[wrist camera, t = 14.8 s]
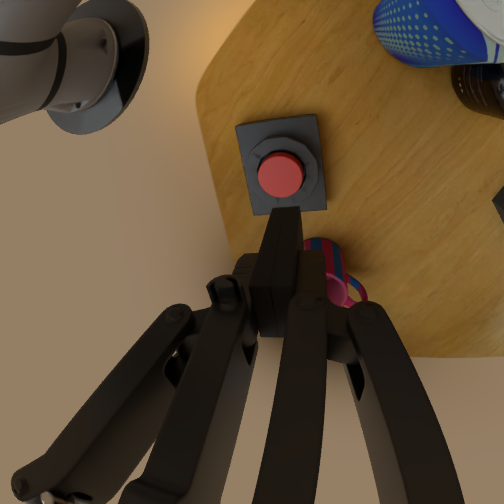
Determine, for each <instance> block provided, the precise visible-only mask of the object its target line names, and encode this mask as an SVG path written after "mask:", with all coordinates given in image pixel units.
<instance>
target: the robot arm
mask: <svg viewBox="0 0 504 504" xmlns="http://www.w3.org/2000/svg"><path fill="white" fill-rule="evenodd" d="M81 1H82V0H0V124H3V123H5V122H7V121H10V120H13V119H15V118H18V117H20V116H23V115H26V114H29V113H32V112H34V111H38V110H42V109H44V110H51V111H58V112H64V113H74V112H80V111H83V110H87V109H89V108H91V107H93V106H94V105H95V104H97V103H98V102H99V101H100V100H101V99H102V98H103V97H104V96H105V94H106V93H107V92H108V90H109V89H110V87H111V85H112V83H113V81H114V79H115V77H116V74H117V71H118V67H119V63H120V57H121V43H120V38H119V35H118V32H117V30H116V28H115V27H114V26H113V25H112V24H111V23H110V22H109V21H107V20H105V19H101V18H93V17H91V18H82V19H78V20H75V21H71V22H68V23H66V22H67V20H68V19H69V17H70V16H71V14H72V13H73V11H74V10H75V9H76V7H77V6H78V5H79V3H80V2H81ZM206 288H207V290H208V293H209V296H210V299H211V301H212V305H211V307H209V308H206V309H201V310H197V311H192V310H191V309H190V307H189V306H188V305H185V304H175V305H172V306H170V307H168V308H166V309H165V310H164V311H163V312H162V313H161V314H160V315H159V316H158V318H157V319H156V320H155V321H154V322H153V323H152V324H151V326H150V327H149V328H148V329H147V330H146V331H145V332H144V334H143V335H142V336H141V337H140V338H139V340H138V341H137V342H136V343H135V344H134V345H133V346H132V348H131V349H130V350H129V351H128V352H127V353H126V355H125V356H124V357H123V358H122V359H121V360H120V362H119V363H118V364H117V365H116V367H114V369H113V370H112V371H111V372H110V373H109V375H108V376H107V377H106V378H105V379H104V381H103V382H102V383H101V384H100V385H99V387H98V388H97V389H96V390H95V391H94V393H93V394H92V395H91V396H90V398H89V399H88V400H87V401H86V402H85V404H84V405H83V406H82V407H81V409H80V410H79V411H78V412H77V413H76V415H75V416H74V417H73V418H72V420H71V421H70V422H69V423H68V425H67V426H66V427H65V429H64V430H63V431H62V432H61V434H60V435H59V436H58V438H57V439H56V440H55V441H54V443H53V444H52V445H51V447H50V448H49V449H48V451H47V452H46V453H45V454H44V455H42V456H41V457H39V458H38V459H36V460H34V461H33V462H31V463H29V464H28V465H26V466H24V467H22V468H21V469H19V470H17V471H16V472H15V473H14V474H13V476H12V479H11V487H12V491H13V493H14V495H15V497H16V498H17V499H18V500H20V501H22V502H25V503H27V504H106V503H107V502H108V501H109V500H111V499H112V498H113V497H114V496H115V494H116V493H117V492H118V491H119V490H120V488H121V487H122V486H123V484H124V483H125V482H126V480H127V479H128V478H129V476H130V475H131V473H132V472H133V471H134V469H135V468H136V467H137V465H138V464H139V462H140V461H141V460H142V458H143V457H144V455H145V454H146V453H147V451H148V450H149V448H150V447H151V445H152V444H153V443H154V441H155V440H156V441H155V444H154V446H153V449H152V451H151V454H150V456H149V459H148V462H147V464H146V467H145V469H144V472H143V474H142V475H141V476H140V477H139V478H137V479H135V480H133V481H130V482H129V483H128V484H127V485H126V486H125V488H124V490H123V492H122V494H121V497H120V499H119V503H118V504H220V500H221V496H222V493H223V489H224V485H225V482H226V478H227V474H228V471H229V467H230V463H231V459H232V455H233V451H234V448H235V444H236V440H237V435H238V432H239V428H240V424H241V420H242V415H243V411H244V407H245V403H246V399H247V395H248V390H249V386H250V381H251V378H252V373H253V369H254V365H255V360H256V356H257V351H258V341H257V334H258V330H259V332H260V336H261V337H284V341H283V348H282V354H281V361H280V367H279V373H278V379H277V385H276V390H275V396H274V402H273V408H272V412H271V418H270V423H269V428H268V434H267V438H266V443H265V448H264V453H263V457H262V462H261V467H260V471H259V475H258V480H257V484H256V488H255V493H254V497H253V501H252V504H314V501H315V495H316V488H317V481H318V474H319V466H320V457H321V448H322V438H323V437H322V436H323V426H324V413H325V397H326V375H327V374H326V372H327V359H328V360H332V361H336V362H340V363H343V366H344V369H345V373H346V375H347V379H348V382H349V385H350V389H351V392H352V395H353V398H354V402H355V406H356V409H357V412H358V416H359V419H360V423H361V427H362V430H363V434H364V438H365V441H366V446H367V450H368V453H369V457H370V461H371V465H372V470H373V474H374V478H375V482H376V487H377V491H378V496H379V501H380V504H465V503H464V498H463V495H462V491H461V487H460V483H459V480H458V477H457V473H456V470H455V467H454V464H453V461H452V458H451V455H450V452H449V449H448V446H447V443H446V440H445V438H444V435H443V432H442V430H441V427H440V424H439V422H438V419H437V417H436V414H435V412H434V410H433V407H432V405H431V403H430V400H429V398H428V396H427V393H426V391H425V389H424V387H423V385H422V382H421V380H420V378H419V376H418V374H417V371H416V369H415V367H414V365H413V363H412V361H411V359H410V357H409V355H408V353H407V351H406V349H405V347H404V345H403V343H402V341H401V339H400V337H399V335H398V333H397V331H396V330H395V328H394V326H393V324H392V322H391V320H390V318H389V317H388V315H387V313H386V311H385V310H384V309H383V307H382V306H381V305H379V304H377V303H375V302H371V301H360V302H358V303H355V304H353V305H352V306H351V307H350V308H345V307H341V306H338V305H336V304H334V303H332V302H331V301H330V300H329V298H328V296H327V288H326V264H325V255H324V254H323V252H322V251H321V250H320V249H315V250H304V241H303V231H302V221H301V212H300V206H291V207H278V208H272V211H271V214H270V217H269V221H268V224H267V227H266V230H265V234H264V237H263V240H262V243H261V247H260V250H259V253H249V254H244V255H243V256H242V257H240V258H239V259H238V261H237V263H236V265H235V269H234V270H233V273H232V275H221V276H219V277H216V278H214V279H213V280H211V281H210V282H209V283H208V284H207V286H206ZM175 351H176V352H177V353H176V354H175V355H174V356H172V355H173V354H174V352H175ZM156 438H157V439H156Z"/></svg>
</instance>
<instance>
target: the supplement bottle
mask: <svg viewBox="0 0 504 504" xmlns="http://www.w3.org/2000/svg"><path fill="white" fill-rule="evenodd" d="M452 83H453V87H454V90H455V92H456V94H457V96H458V98H459V99H460V100H461V102H462V103H463V104H464V105H465V106H466V107H467V108H469V109H470V110H472V111H474V112H478V113H481V114H485V115H488V116H492V117H496V118H499V119H502V120H504V63H482V64H460V65H453V68H452Z"/></svg>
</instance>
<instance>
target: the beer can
mask: <svg viewBox="0 0 504 504" xmlns="http://www.w3.org/2000/svg"><path fill="white" fill-rule="evenodd" d="M373 26H374V30H375V33H376V35H377V37H378V39H379V40H380V42H381V44H382V45H383V46H384V47H385V49H386V50H387V51H388V52H389V53H390V54H391V55H393V56H394V57H395V58H397V59H398V60H400V61H401V62H403V63H405V64H408V65H410V66H413V67H418V68H429V67H438V66H447V65H460V64H482V63H504V0H381V2H380V3H379V4H378V5H377V6H376V8H375V10H374V13H373Z"/></svg>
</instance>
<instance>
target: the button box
mask: <svg viewBox="0 0 504 504" xmlns="http://www.w3.org/2000/svg"><path fill="white" fill-rule="evenodd" d="M235 129H236V134H237V139H238V143H239V148H240V153H241V157H242V162H243V167H244V171H245V176H246V181H247V186H248V190H249V195H250V200H251V205H252V210H253V214H254V216H255V215H266V214H271V211H272V208H278V207H291V206H300V212H303V211H317V210H327V202H326V190H325V179H324V170H323V161H322V152H321V144H320V137H319V129H318V122H317V116H316V114H307V115H297V116H288V117H280V118H273V119H266V120H259V121H253V122H247V123H242V124H239V125H237V126H235ZM276 152H286V153H289V154H291V155H293V156H294V157H296V158H297V159H298V160H299V162H300V164H301V166H302V169H303V178H302V184H301V186H300V188H299V189H298V191H297V192H296V193H294V194H293V195H291V196H288V197H284V198H279V197H274V196H271V195H269V194H268V193H266V192H265V191H264V190H263V188H262V187H261V185H260V183H259V180H258V171H259V168H260V166H261V165H262V163H263V161H264V160H265V159H266V158H267V157H268V156H269V155H271V154H273V153H276Z"/></svg>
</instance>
